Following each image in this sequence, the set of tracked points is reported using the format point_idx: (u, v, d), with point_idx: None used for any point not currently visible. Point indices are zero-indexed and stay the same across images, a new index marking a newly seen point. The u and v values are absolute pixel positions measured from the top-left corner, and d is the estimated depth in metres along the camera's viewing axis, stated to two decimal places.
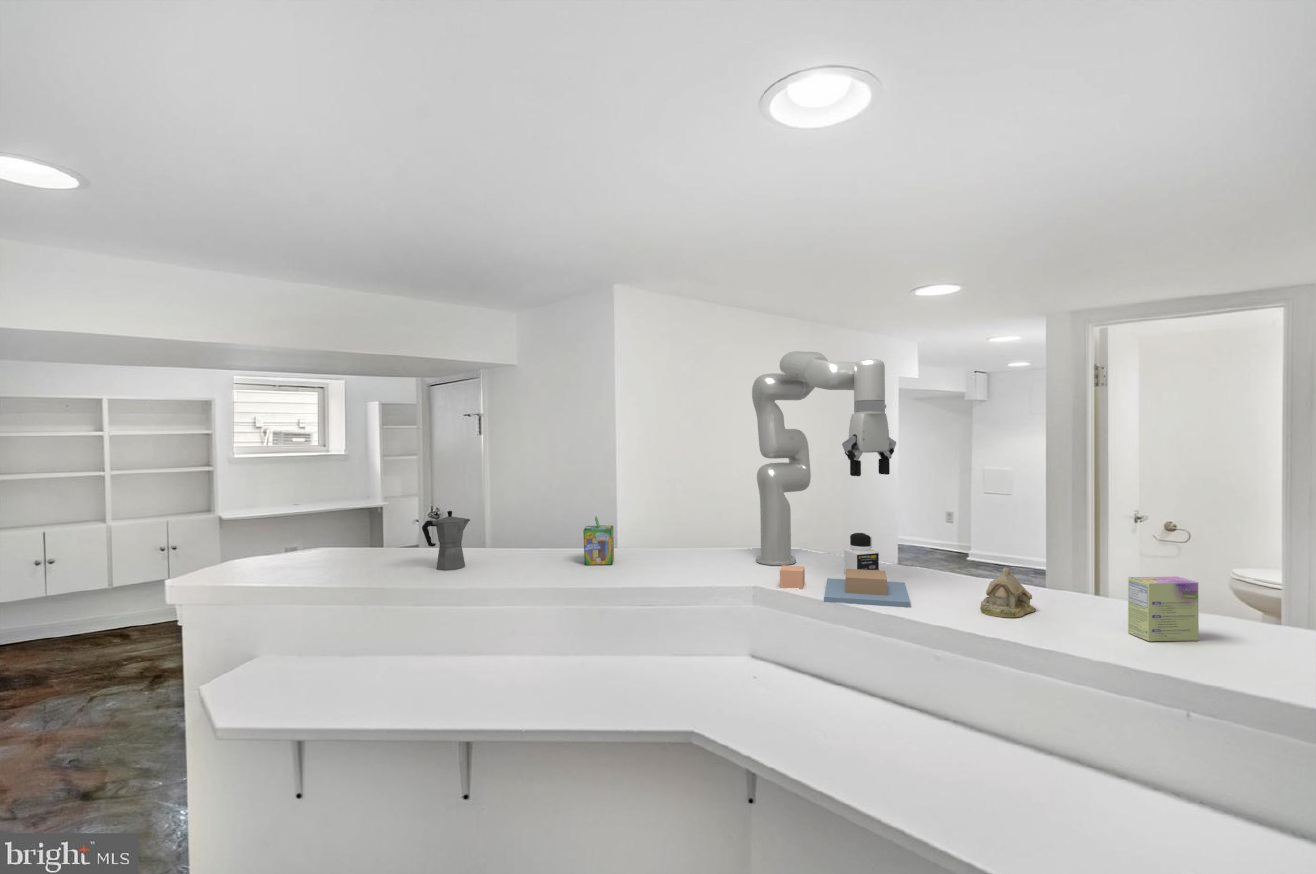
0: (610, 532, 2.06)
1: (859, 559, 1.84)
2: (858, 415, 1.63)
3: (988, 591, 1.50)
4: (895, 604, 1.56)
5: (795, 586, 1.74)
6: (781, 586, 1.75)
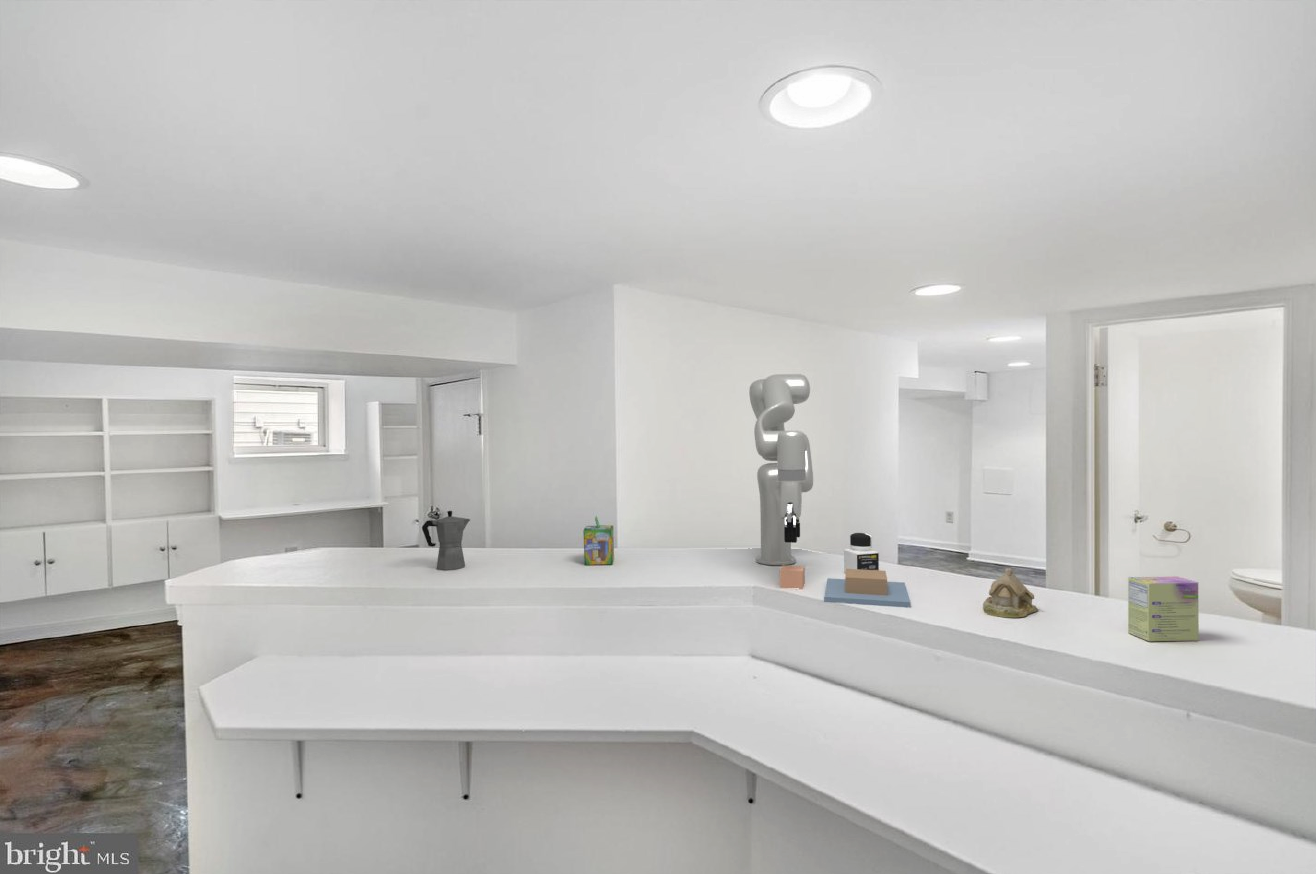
0: (610, 532, 2.06)
1: (859, 559, 1.84)
2: (792, 484, 1.72)
3: (991, 591, 1.50)
4: (895, 604, 1.56)
5: (795, 586, 1.74)
6: (781, 586, 1.75)
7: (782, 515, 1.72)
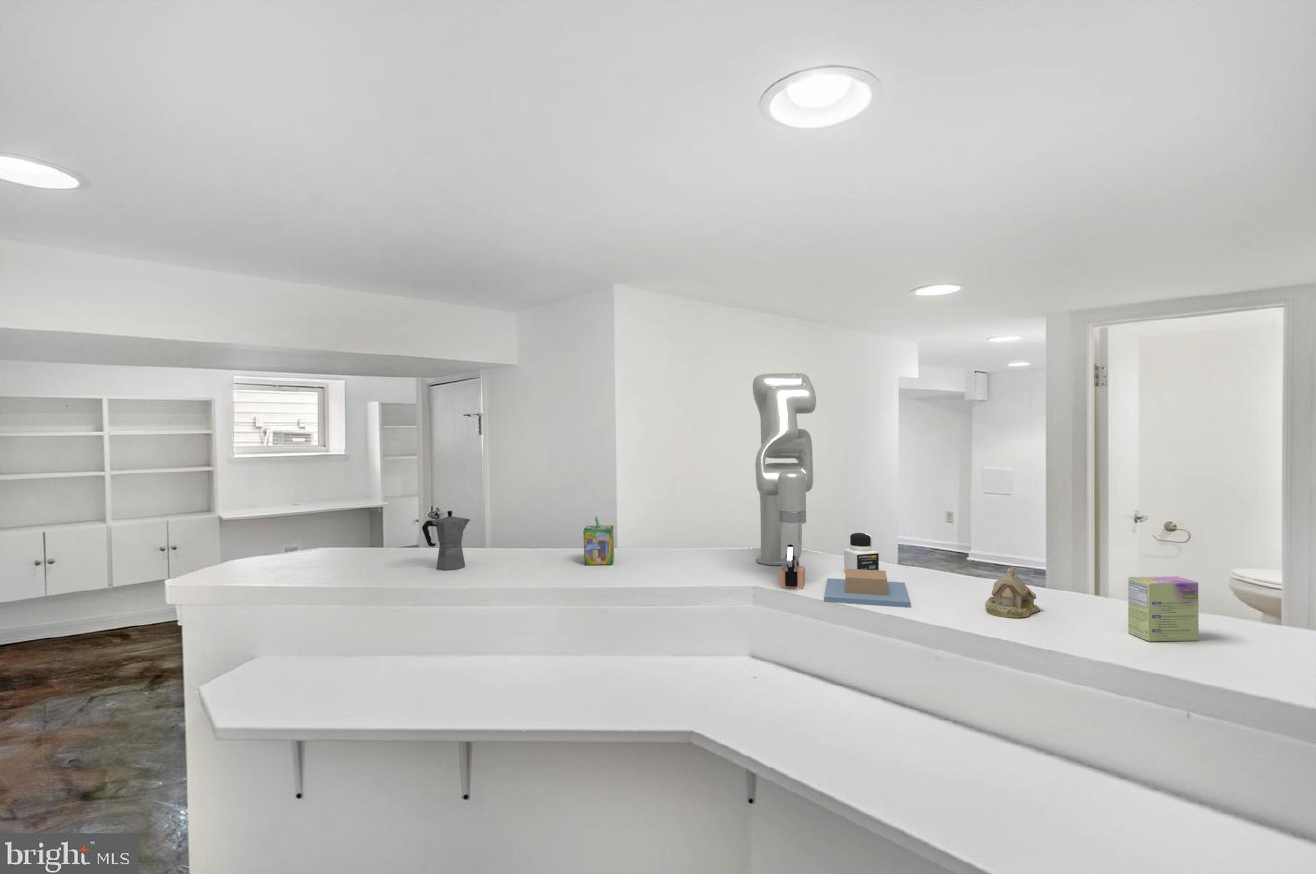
0: (610, 532, 2.06)
1: (859, 559, 1.84)
2: (793, 526, 1.72)
3: (994, 591, 1.49)
4: (895, 604, 1.56)
5: None
6: (781, 586, 1.75)
7: (782, 557, 1.73)
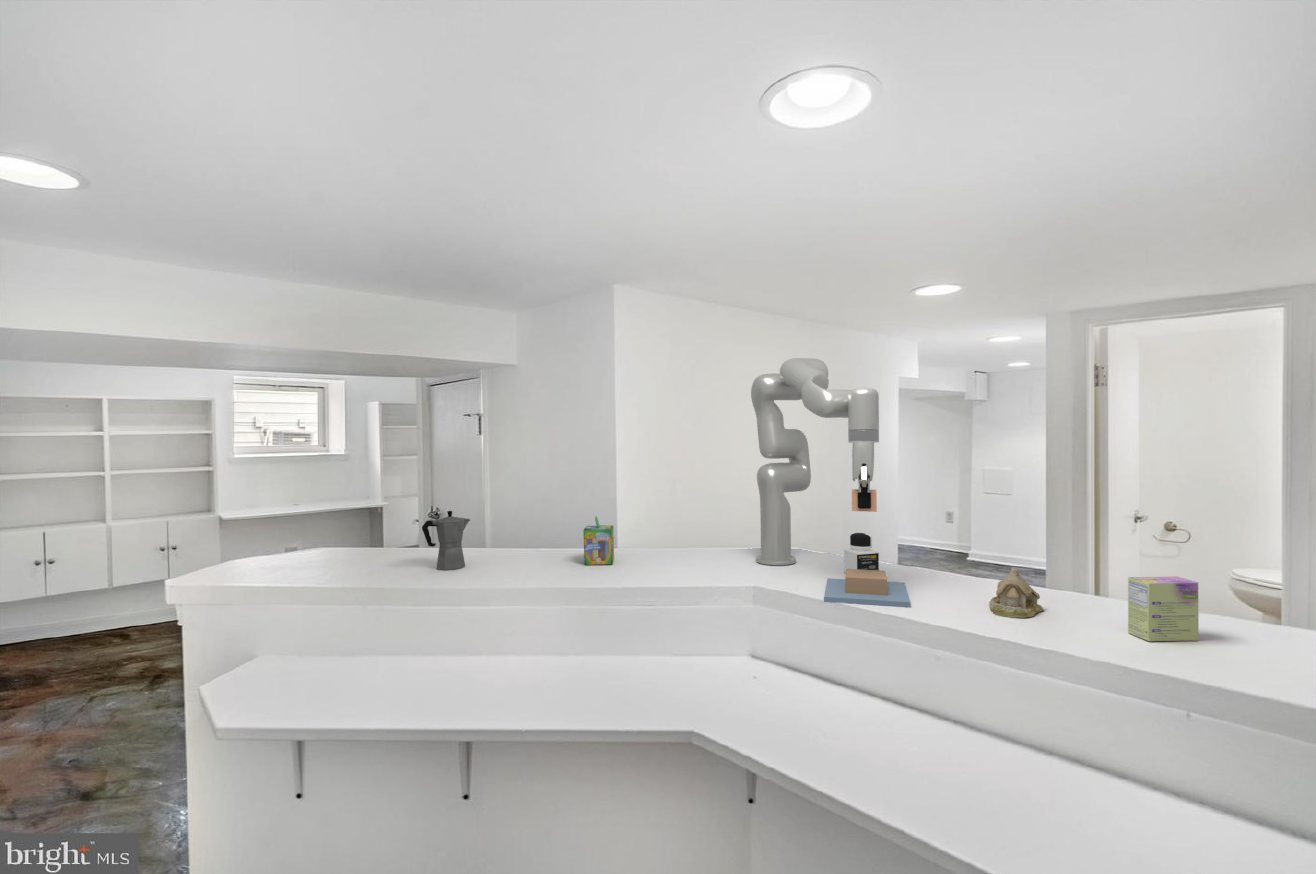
0: (610, 532, 2.06)
1: (859, 559, 1.84)
2: (866, 444, 1.62)
3: (999, 592, 1.49)
4: (895, 604, 1.56)
5: None
6: (853, 508, 1.65)
7: (855, 477, 1.63)
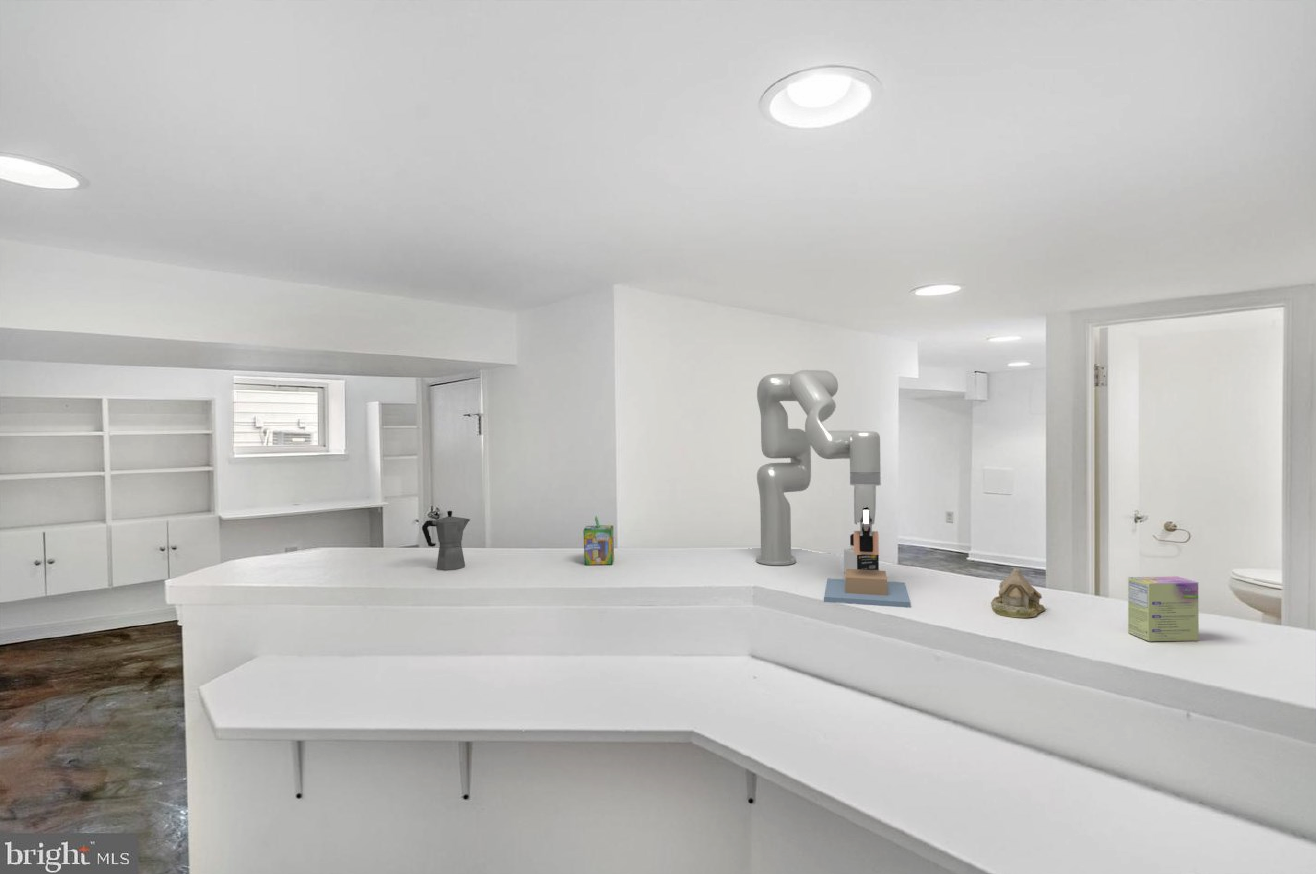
0: (610, 532, 2.06)
1: (859, 559, 1.84)
2: (868, 488, 1.62)
3: (1002, 592, 1.49)
4: (895, 604, 1.56)
5: None
6: (855, 551, 1.65)
7: (857, 520, 1.63)
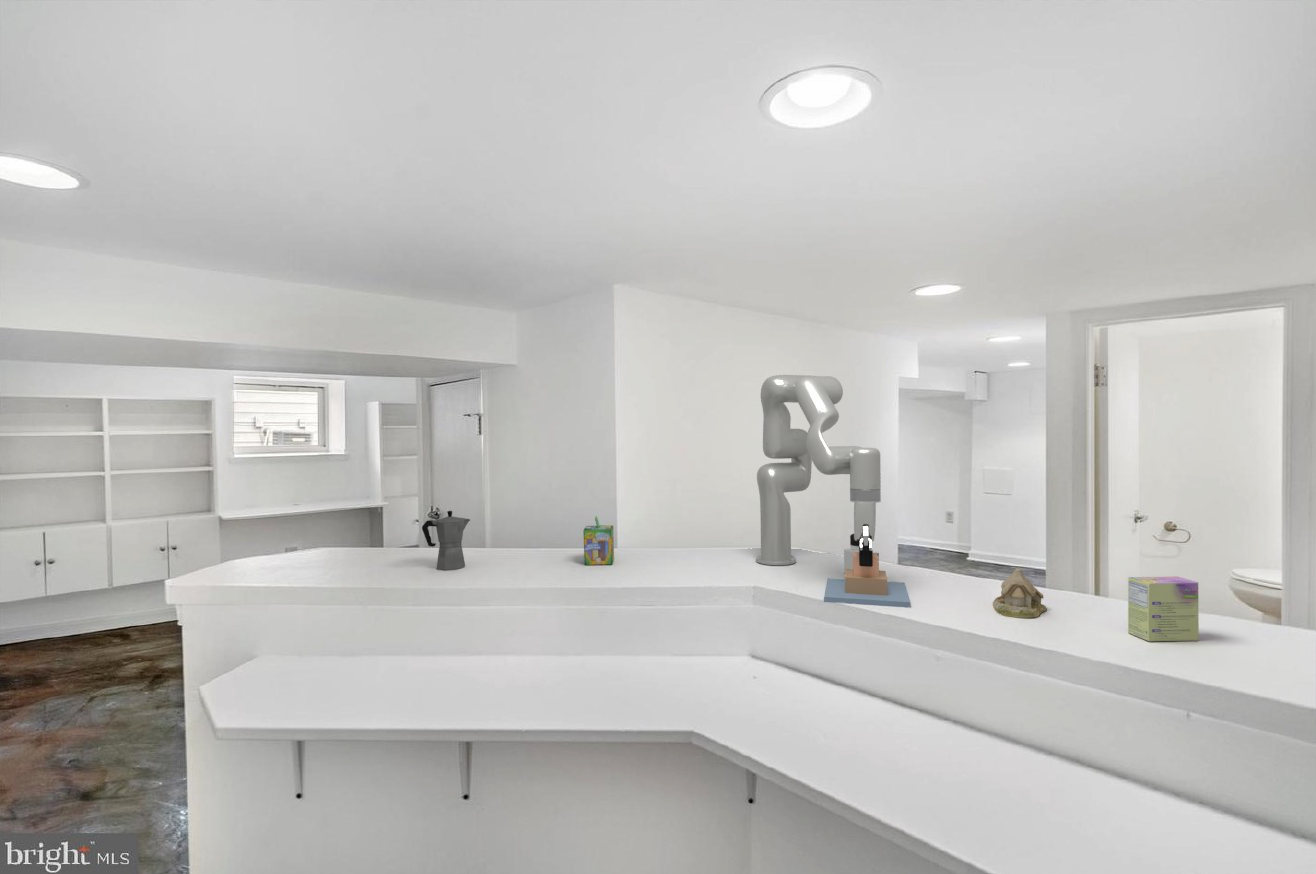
0: (610, 532, 2.06)
1: None
2: (868, 505, 1.63)
3: (1005, 592, 1.49)
4: (895, 604, 1.56)
5: (870, 573, 1.64)
6: (855, 573, 1.65)
7: (857, 537, 1.63)
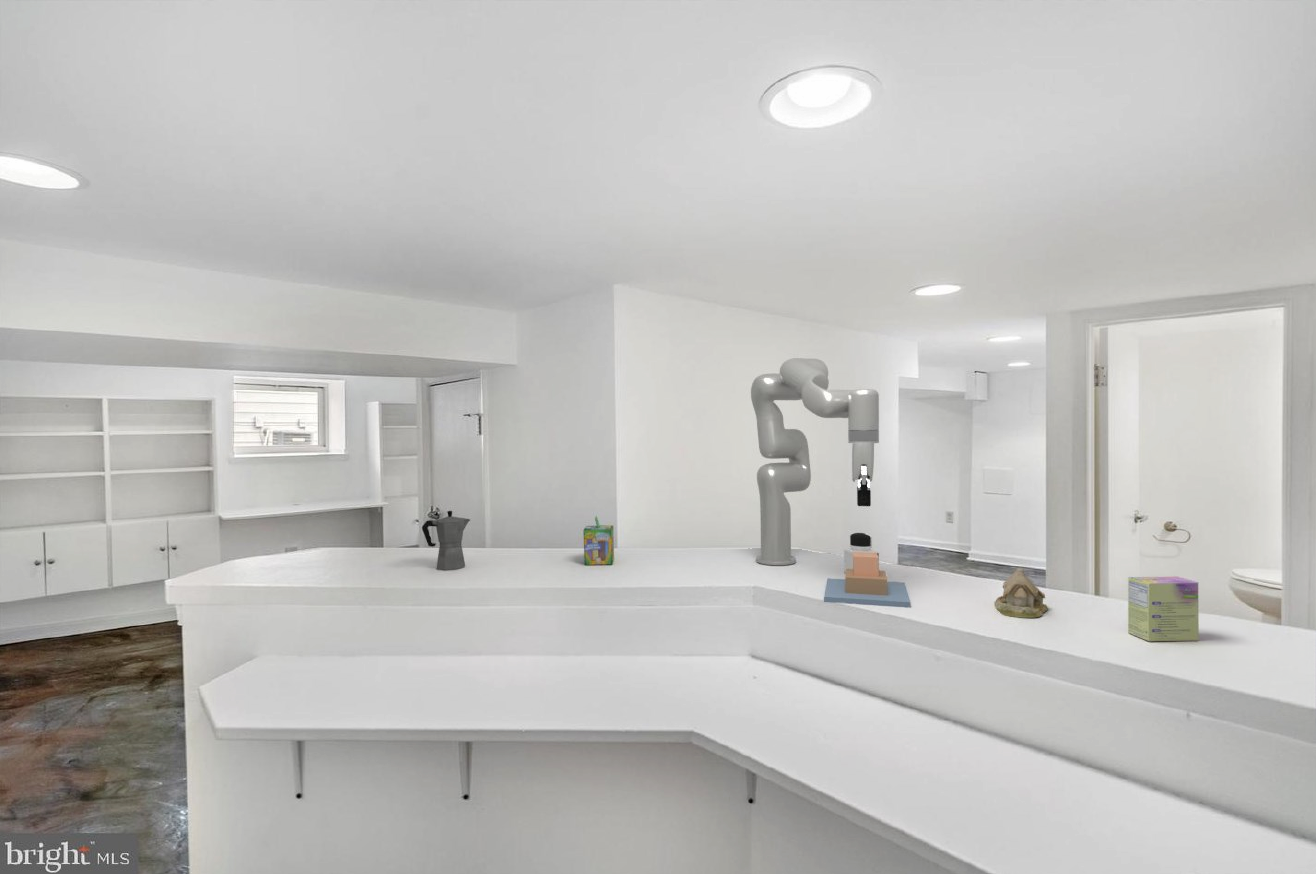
0: (610, 532, 2.06)
1: None
2: (866, 445, 1.63)
3: (1007, 592, 1.49)
4: (895, 604, 1.56)
5: (870, 573, 1.64)
6: (855, 573, 1.65)
7: (855, 477, 1.63)
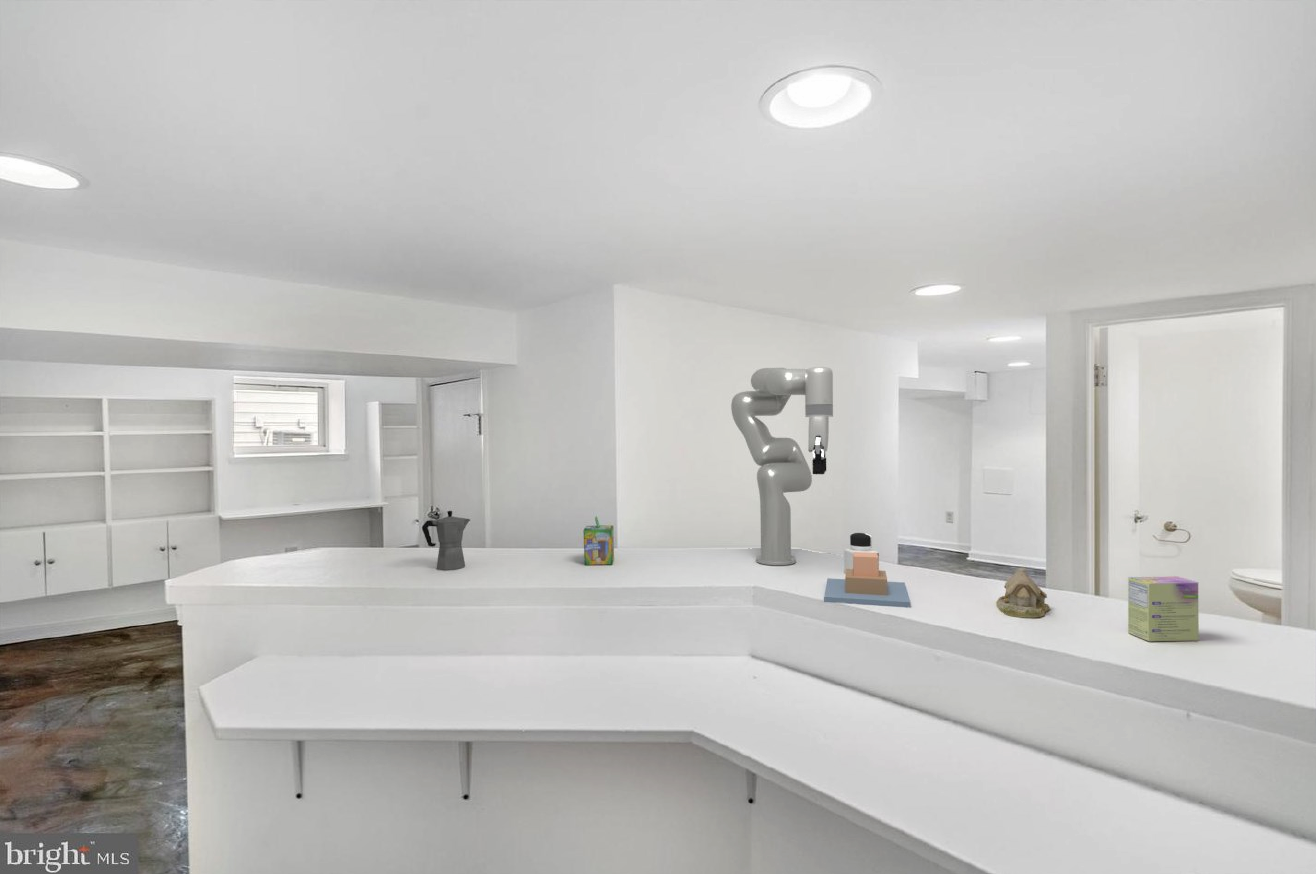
0: (610, 532, 2.06)
1: None
2: (820, 418, 1.77)
3: (1010, 592, 1.49)
4: (895, 604, 1.56)
5: (870, 573, 1.64)
6: (855, 573, 1.65)
7: (810, 448, 1.78)
